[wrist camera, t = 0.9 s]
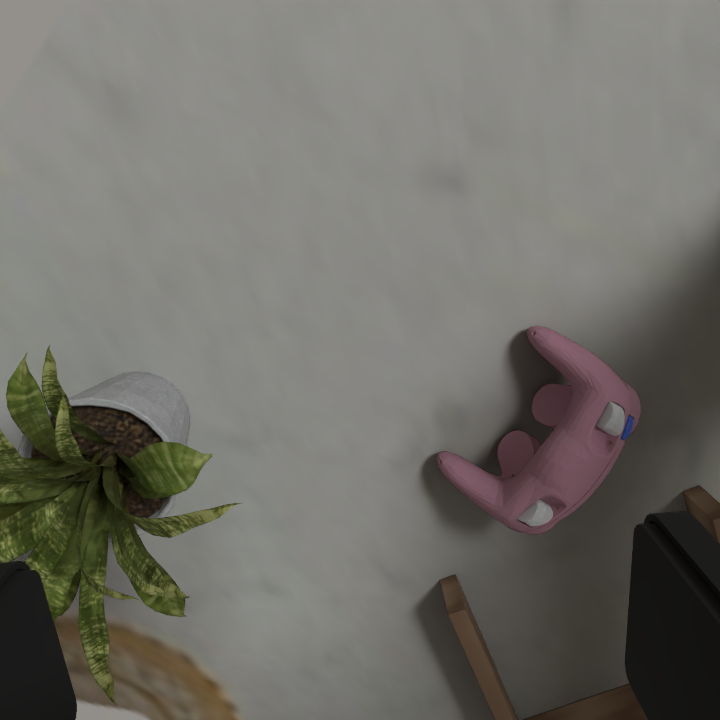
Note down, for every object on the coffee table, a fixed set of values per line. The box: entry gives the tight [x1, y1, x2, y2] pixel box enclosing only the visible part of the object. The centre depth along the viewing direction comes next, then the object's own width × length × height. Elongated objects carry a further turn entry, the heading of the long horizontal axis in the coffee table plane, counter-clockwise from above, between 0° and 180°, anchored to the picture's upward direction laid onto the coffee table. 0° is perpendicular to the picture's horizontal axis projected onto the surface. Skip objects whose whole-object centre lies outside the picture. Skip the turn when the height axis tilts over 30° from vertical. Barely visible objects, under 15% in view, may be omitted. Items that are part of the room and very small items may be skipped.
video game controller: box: [437, 326, 641, 535], centre depth 32 cm, size 10×5×7 cm, turn 148°
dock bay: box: [440, 486, 720, 720], centre depth 37 cm, size 16×14×3 cm
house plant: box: [0, 345, 241, 705], centre depth 25 cm, size 14×14×16 cm
